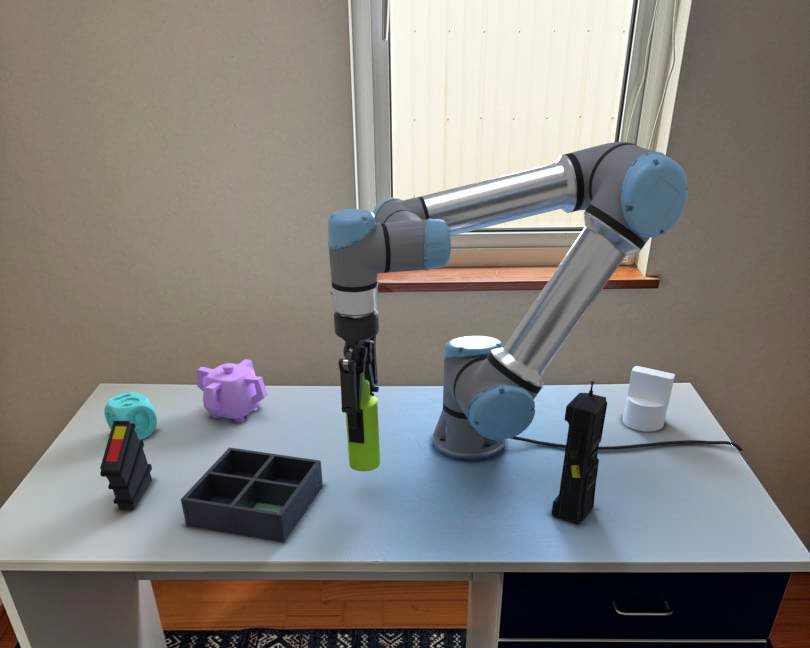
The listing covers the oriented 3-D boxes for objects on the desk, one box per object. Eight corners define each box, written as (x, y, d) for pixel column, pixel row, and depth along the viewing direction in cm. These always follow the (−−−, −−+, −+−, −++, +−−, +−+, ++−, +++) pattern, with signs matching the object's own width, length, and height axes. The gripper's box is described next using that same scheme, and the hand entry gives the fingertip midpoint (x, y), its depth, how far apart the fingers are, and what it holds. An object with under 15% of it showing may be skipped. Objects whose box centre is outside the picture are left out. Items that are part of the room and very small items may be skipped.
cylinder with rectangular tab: (617, 425, 169) (626, 375, 162) (630, 409, 175) (639, 360, 168) (656, 435, 165) (668, 384, 158) (668, 419, 171) (680, 369, 164)
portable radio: (579, 528, 137) (600, 403, 122) (548, 518, 140) (565, 395, 125) (594, 508, 142) (616, 385, 127) (564, 498, 145) (582, 377, 130)
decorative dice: (141, 421, 171) (134, 388, 166) (160, 433, 166) (153, 400, 162) (109, 433, 166) (100, 400, 162) (127, 445, 162) (118, 412, 157)
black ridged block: (158, 464, 152) (132, 419, 139) (144, 521, 146) (115, 479, 133) (139, 464, 152) (112, 418, 139) (125, 520, 146) (94, 479, 133)
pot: (223, 390, 184) (216, 344, 177) (287, 402, 179) (282, 355, 172) (180, 423, 170) (171, 375, 163) (248, 436, 165) (241, 387, 158)
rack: (322, 485, 149) (320, 460, 145) (284, 542, 134) (281, 515, 130) (233, 472, 153) (229, 447, 150) (186, 525, 138) (180, 499, 135)
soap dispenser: (382, 453, 147) (378, 356, 135) (378, 472, 141) (373, 372, 129) (352, 452, 147) (345, 355, 135) (347, 471, 142) (339, 371, 130)
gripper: (352, 290, 134) (359, 408, 148) (314, 329, 120) (325, 455, 133) (393, 293, 132) (396, 412, 146) (359, 333, 118) (366, 461, 132)
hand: (362, 433), depth 140 cm, fingers closed on soap dispenser, 6 cm apart
